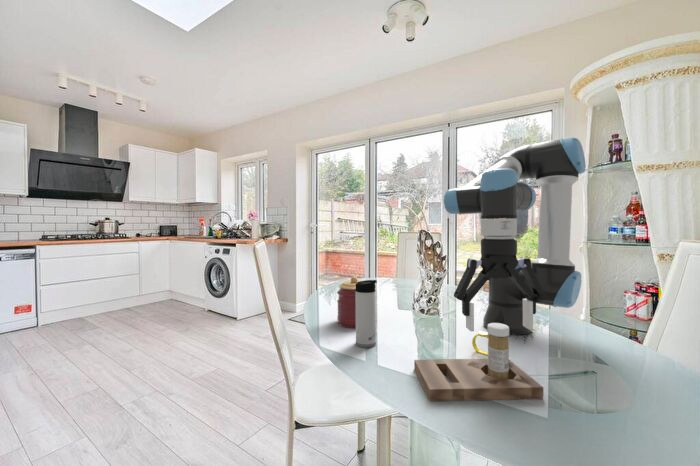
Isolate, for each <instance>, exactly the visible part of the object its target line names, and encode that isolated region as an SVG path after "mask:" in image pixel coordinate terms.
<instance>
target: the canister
mask: <svg viewBox="0 0 700 466" xmlns="http://www.w3.org/2000/svg"><path fill="white" fill-rule="evenodd" d="M360 281H361V280H358V277H357V276H351V278H350V280H346V281H343V282H342V283H341V284H339V288H340V289H338V290H337V291H336V293H337V295H338V299H337V301H336V302H337V323H338V325H339V326H341V327H344V328H348V329H349V328H354V329H356V301H355V293H356V292H355V291H356V283H357V282H360Z"/></svg>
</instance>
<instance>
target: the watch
mask: <svg viewBox="0 0 700 466" xmlns="http://www.w3.org/2000/svg"><path fill="white" fill-rule="evenodd" d="M478 337H481V338H486V339H488V332H487V331H478V333H476V334H475V335H474V337H473V338H472V343H471V344H472V347H473V349H474V350H475V351H476V353H478V354H481V355H485V356H488V351H487V352H486V351H483V350H480V349H479V348H478V346H477V344H476V338H478Z"/></svg>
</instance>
